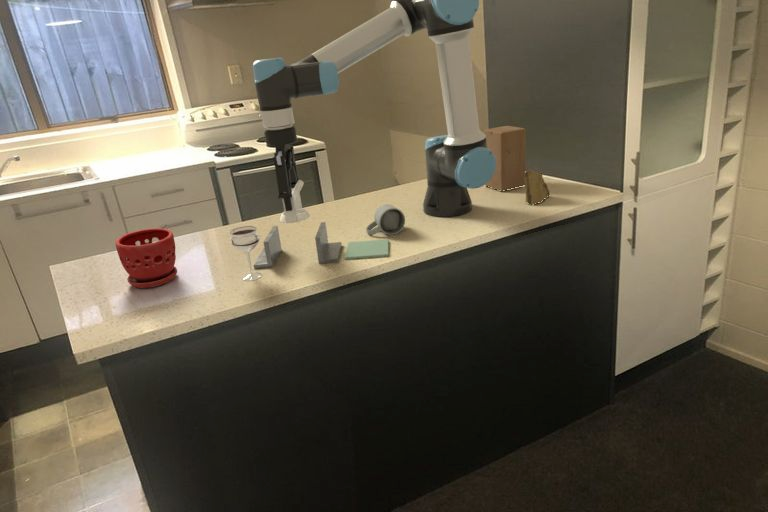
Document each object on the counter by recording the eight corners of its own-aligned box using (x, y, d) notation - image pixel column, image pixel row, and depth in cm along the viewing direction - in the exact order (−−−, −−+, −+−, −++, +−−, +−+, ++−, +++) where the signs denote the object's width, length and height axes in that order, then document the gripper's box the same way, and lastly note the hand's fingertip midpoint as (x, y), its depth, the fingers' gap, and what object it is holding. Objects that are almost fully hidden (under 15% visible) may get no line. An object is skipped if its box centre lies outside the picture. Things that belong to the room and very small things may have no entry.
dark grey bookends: (341, 245, 146) (338, 221, 143) (337, 262, 135) (334, 236, 132) (264, 251, 147) (260, 227, 144) (254, 268, 136) (249, 242, 133)
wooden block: (501, 192, 180) (501, 132, 173) (484, 186, 189) (483, 129, 181) (525, 187, 184) (526, 128, 176) (507, 181, 192) (507, 125, 185)
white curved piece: (323, 199, 131) (297, 188, 128) (302, 237, 136) (276, 226, 134) (322, 185, 137) (297, 174, 134) (302, 222, 142) (278, 211, 140)
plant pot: (127, 297, 126) (113, 249, 122) (128, 277, 137) (115, 234, 133) (185, 283, 131) (173, 237, 126) (181, 266, 142) (170, 223, 138)
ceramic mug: (397, 224, 159) (395, 199, 156) (406, 232, 151) (404, 206, 148) (363, 231, 156) (360, 206, 153) (370, 239, 149) (367, 213, 146)
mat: (388, 241, 146) (388, 239, 146) (388, 256, 136) (388, 254, 135) (348, 244, 146) (348, 242, 146) (345, 259, 136) (344, 257, 136)
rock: (543, 186, 175) (515, 186, 172) (555, 168, 168) (526, 168, 165) (554, 212, 169) (525, 213, 167) (566, 195, 162) (537, 196, 160)
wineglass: (242, 271, 134) (233, 226, 130) (268, 270, 134) (260, 224, 130) (234, 283, 128) (224, 236, 124) (262, 281, 128) (253, 234, 123)
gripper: (272, 122, 138) (287, 206, 147) (253, 135, 119) (272, 231, 128) (301, 119, 138) (314, 204, 146) (286, 132, 119) (303, 229, 127)
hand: (294, 216), depth 137 cm, fingers closed on white curved piece, 8 cm apart
